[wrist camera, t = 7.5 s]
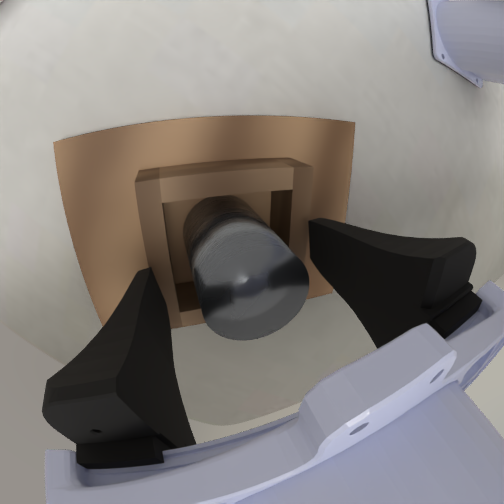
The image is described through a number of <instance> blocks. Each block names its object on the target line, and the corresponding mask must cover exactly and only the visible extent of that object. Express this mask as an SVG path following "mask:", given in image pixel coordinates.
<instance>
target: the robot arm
mask: <svg viewBox="0 0 504 504" xmlns="http://www.w3.org/2000/svg"><path fill="white" fill-rule="evenodd" d="M428 6H429V13H430V21H431V30H432V41H433V54H434V57H435V59H436V60H438V61H440V62H441V63H443V64H445V65H446V66H448V67H449V68H451V69H453V70H454V71H456V72H457V73H459V74H460V75H462V76H463V77H465V78H466V79H468V80H469V81H470V82H472V83H473V84H475V85H476V86H477V87H479V88H482V86H483V80H486V81H491V82H496V83H501V84H504V1H500V0H453V1H449V0H428ZM308 227H309V248H310V259H311V261H312V262H313V264H314V265H315V267H316V268H317V270H318V271H319V272H320V274H321V275H322V276H323V277H324V278H325V279H326V281H327V282H328V283H329V284H330V285H331V286H332V287H333V288H334V289H335V290H336V291H337V293H338V294H339V295H340V296H341V297H342V298H343V299H344V300H345V301H346V302H347V304H348V305H349V306H350V307H351V308H352V310H353V311H354V312H355V314H356V315H357V317H358V318H359V320H360V321H361V323H362V324H363V326H364V327H365V329H366V330H367V332H368V334H369V335H370V337H371V338H372V340H373V342H374V344H375V345H376V347H377V349H376V350H375V351H373V352H371V353H369V354H367V355H365V356H364V357H362V358H360V359H358V360H356V361H354V362H352V363H350V364H348V365H346V366H344V367H342V368H340V369H338V370H336V371H335V372H333V373H332V374H330V375H328V376H327V377H325V378H323V379H322V380H320V381H319V382H318V383H317V384H316V385H315V386H314V387H313V388H311V389H310V390H309V391H308V392H307V393H306V394H305V396H304V399H303V401H302V403H301V405H300V407H299V412H296V413H294V414H291V415H289V416H286V417H284V418H281V419H278V420H276V421H273V422H270V423H268V424H265V425H262V426H259V427H256V428H253V429H250V430H247V431H244V432H240V433H238V434H234V435H230V436H227V437H224V438H220V439H216V440H213V441H208V442H204V443H200V444H196V442H195V439H194V436H193V433H192V431H191V428H190V425H189V422H188V418H187V415H186V412H185V409H184V405H183V402H182V398H181V395H180V391H179V387H178V383H177V378H176V374H175V368H174V361H173V350H172V339H171V326H170V319H169V314H168V309H167V304H166V301H165V299H164V297H163V295H162V292H161V290H160V288H159V285H158V283H157V280H156V278H155V275H154V273H153V271H152V268H151V267H149V268H146V269H142V270H139V271H138V272H137V273H136V275H135V276H134V278H133V280H132V282H131V284H130V285H129V287H128V289H127V291H126V292H125V294H124V296H123V298H122V299H121V301H120V302H119V304H118V306H117V307H116V309H115V310H114V312H113V313H112V315H111V316H110V318H109V319H108V321H107V322H106V323H105V325H104V326H103V327H102V329H101V330H100V331H99V332H98V334H97V335H96V336H95V337H94V338H93V339H92V340H91V341H90V343H89V344H88V345H87V346H86V347H85V348H84V349H83V350H82V351H81V352H80V353H79V354H78V355H77V356H76V357H75V358H74V359H73V360H72V361H71V362H69V363H68V364H67V365H66V366H65V367H64V368H62V369H61V370H60V371H58V372H57V373H56V374H55V375H53V376H52V377H51V378H49V379H48V380H47V383H46V389H45V394H44V401H43V407H42V413H43V416H44V418H45V419H46V421H47V422H48V423H49V424H50V425H51V426H52V427H53V428H54V429H56V430H57V431H58V432H60V433H61V434H62V435H64V436H65V437H67V438H68V439H70V440H71V441H73V442H74V443H76V452H75V451H72V450H66V449H65V450H64V449H58V450H57V449H47V450H45V490H46V504H504V439H503V438H502V436H501V435H500V434H499V433H498V431H497V430H496V429H495V427H494V426H493V425H492V424H491V422H490V421H489V420H488V419H487V418H486V416H485V415H484V414H483V413H482V411H480V409H479V408H478V407H477V406H476V404H475V403H474V402H473V401H472V400H471V399H470V397H469V396H468V395H467V394H466V393H465V392H464V391H465V389H467V388H468V386H469V385H470V384H471V383H472V382H473V381H474V380H475V379H476V378H477V377H478V376H479V374H480V373H481V372H482V371H483V370H484V369H485V368H486V366H487V365H488V364H489V363H490V362H491V361H492V359H493V358H494V357H495V356H496V355H497V353H498V352H499V351H500V350H501V348H502V347H503V346H504V291H503V290H502V289H501V288H500V287H498V286H497V285H496V284H495V283H493V282H492V281H491V280H489V281H488V282H487V283H485V284H484V285H483V286H482V287H481V288H480V289H479V290H478V292H477V293H476V294H475V293H473V292H472V291H471V290H472V289H473V285H472V284H470V283H469V282H468V281H469V278H470V275H471V272H472V269H473V266H474V263H475V259H476V247H475V245H474V244H473V243H472V242H470V241H469V240H467V239H465V238H463V237H455V238H414V237H404V236H397V235H391V234H385V233H380V232H376V231H372V230H367V229H364V228H360V227H356V226H353V225H349V224H345V223H342V222H338V221H335V220H330V219H326V218H316V219H313V220H309V221H308Z"/></svg>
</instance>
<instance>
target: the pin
mask: <svg viewBox="0 0 504 504" xmlns="http://www.w3.org/2000/svg"><path fill="white" fill-rule="evenodd" d="M183 239H184V243H185V248H186V252H187V256H188V261H189V265H190V269H191V273H192V277H193V281H194V285H195V289H196V292H197V296H198V300H199V304H200V307H201V311H202V315H203V318H204V320H205V322H206V323H207V325H208V326H209V327H210V328H211V329H212V330H213V331H214V332H215V333H217V334H218V335H220V336H222V337H225V338H228V339H232V340H253V339H258V338H261V337H264V336H267V335H270V334H272V333H274V332H276V331H277V330H279V329H281V328H282V327H284V326H285V325H286V324H288V323H289V322H290V321H291V320H292V319H293V318H294V317H295V316H296V315H297V313H298V312H299V311H300V309H301V308H302V306H303V304H304V302H305V300H306V298H307V295H308V291H309V275H308V271H307V269H306V267H305V265H304V264H303V262H302V261H301V260H300V259H299V258H298V257H297V256H296V255H295V254H294V252H293V251H292V250H291V249H290V248H289V247H288V246H287V245H286V244H285V243H284V242H283V241H282V240H281V238H280V237H279V236H278V235H277V234H276V233H275V232H274V231H273V230H272V229H271V228H270V227H269V226H268V225H267V224H266V223H265V222H264V221H263V219H262V218H261V217H260V216H259V215H258V214H257V213H256V212H255V211H254V210H253V209H252V208H251V207H250V206H249V205H248V204H247V203H246V202H245V201H244V200H242V199H240V198H238V197H236V196H233V195H224V196H214V197H207V198H205V199H203V200H201V201H200V202H198V203H197V204H196V205H195V206H194V207H193V208H192V209H191V210H190V212H189V213H188V215H187V217H186V219H185V222H184V225H183Z"/></svg>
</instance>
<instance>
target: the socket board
mask: <svg viewBox="0 0 504 504" xmlns="http://www.w3.org/2000/svg"><path fill="white" fill-rule="evenodd" d="M354 133H355V122H348V121H340V120H331V119H320V118H308V117H291V116H213V117H196V118H184V119H173V120H164V121H156V122H148V123H141V124H134V125H128V126H122V127H117V128H111V129H106V130H101V131H96V132H92V133H87V134H83V135H79V136H75V137H71V138H67V139H63V140H59V141H56V142H53V144H54V152H55V160H56V167H57V173H58V179H59V185H60V190H61V196H62V201H63V205H64V210H65V214H66V218H67V222H68V226H69V230H70V234H71V238H72V241H73V245H74V248H75V252H76V255H77V258H78V262H79V265H80V268H81V271H82V274H83V277H84V280H85V283H86V285H87V288H88V291H89V294H90V296H91V299H92V301H93V304H94V307H95V309H96V312H97V314H98V316H99V319H100V321H101V323H102V326H104V325H105V323H106V322H107V321H108V319H109V318H110V316H111V315H112V313H113V312H114V310H115V309H116V307H117V306H118V304H119V302H120V301H121V299H122V298H123V296H124V294H125V292H126V291H127V289H128V287H129V285H130V284H131V282H132V280H133V278H134V276H135V275H136V273H137V272H138V271H139V270H142V269H146V268H149V267H151V268H152V271H153V273H154V275H155V278H156V280H157V283H158V285H159V288H160V290H161V292H162V295H163V297H164V299H165V301H166V304H167V309H168V314H169V319H170V326H171V329H173V328H179V327H185V326H190V325H196V324H202V323H206V322H205V320H204V318H203V315H202V311H201V307H200V304H199V300H198V296H197V292H196V289H195V285H194V281H193V277H192V273H191V269H190V265H189V261H188V256H187V252H186V248H185V243H184V239H183V225H184V222H185V219H186V217H187V215H188V213H189V212H190V210H191V209H192V208H193V207H194V206H195V205H196V204H197V203H198V202H200V201H201V200H203V199H205V198H207V197H214V196H224V195H233V196H236V197H238V198H240V199H242V200H244V201H245V202H246V203H247V204H248V205H249V206H250V207H251V208H252V209H253V210H254V211H255V212H256V213H257V214H258V215H259V216H260V217H261V218H262V219H263V221H264V222H265V223H266V224H267V225H268V226H269V227H270V228H271V229H272V230H273V231H274V232H275V233H276V234H277V235H278V236H279V237H280V238H281V240H282V241H283V242H284V243H285V244H286V245H287V246H288V247H289V248H290V249H291V250H292V251H293V252H294V254H295V255H296V256H297V257H298V258H299V259H300V260H301V261H302V262H303V264H304V265H305V267H306V269H307V271H308V275H309V291H308V295H307V298H306V299H310V298H314V297H318V296H322V295H326V294H330V293H332V291H333V287H332V286H331V285H330V284H329V283H328V282H327V281H326V279H325V278H324V277H323V276H322V275H321V274H320V272H319V271H318V270H317V268H316V267H315V265H314V264H313V262H312V261H311V259H310V248H309V227H308V221H309V220H313V219H316V218H326V219H330V220H335V221H338V222H342V223H345V218H346V211H347V203H348V195H349V187H350V178H351V169H352V158H353V147H354Z"/></svg>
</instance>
